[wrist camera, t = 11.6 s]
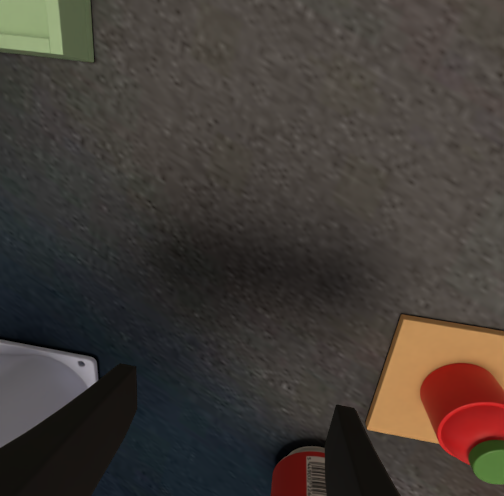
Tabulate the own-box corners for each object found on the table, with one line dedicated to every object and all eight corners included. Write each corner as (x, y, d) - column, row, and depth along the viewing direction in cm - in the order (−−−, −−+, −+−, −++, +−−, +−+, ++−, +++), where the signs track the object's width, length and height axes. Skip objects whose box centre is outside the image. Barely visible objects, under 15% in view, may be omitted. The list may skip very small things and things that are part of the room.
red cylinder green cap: (411, 410, 22) (439, 487, 17) (432, 356, 20) (469, 426, 16) (481, 423, 22) (529, 506, 17) (509, 370, 20) (570, 445, 15)
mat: (364, 422, 24) (366, 430, 23) (400, 313, 20) (403, 319, 20) (500, 448, 23) (505, 457, 22) (561, 340, 19) (569, 346, 19)
